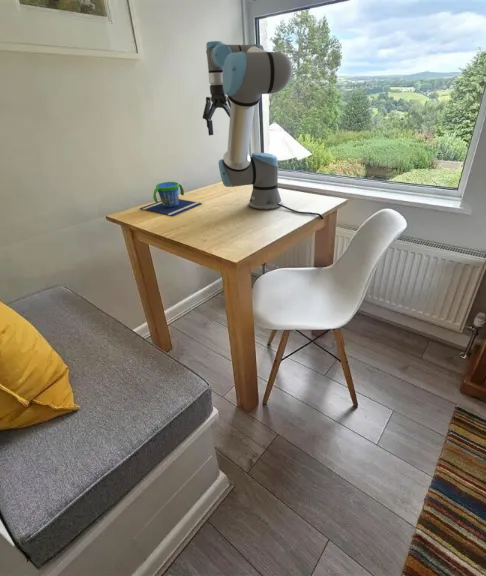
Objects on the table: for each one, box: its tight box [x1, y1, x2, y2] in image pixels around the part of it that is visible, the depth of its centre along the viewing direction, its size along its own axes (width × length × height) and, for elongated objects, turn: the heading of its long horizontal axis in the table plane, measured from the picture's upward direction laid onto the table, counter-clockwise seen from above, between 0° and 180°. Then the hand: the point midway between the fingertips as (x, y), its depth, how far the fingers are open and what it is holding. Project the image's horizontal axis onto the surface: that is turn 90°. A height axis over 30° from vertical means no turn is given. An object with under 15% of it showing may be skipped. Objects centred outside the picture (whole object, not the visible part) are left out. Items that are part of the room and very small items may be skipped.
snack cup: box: [153, 181, 185, 208], centre depth 155 cm, size 16×10×10 cm
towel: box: [139, 198, 203, 217], centre depth 158 cm, size 22×20×1 cm
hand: (221, 135), depth 158 cm, fingers open, 13 cm apart
